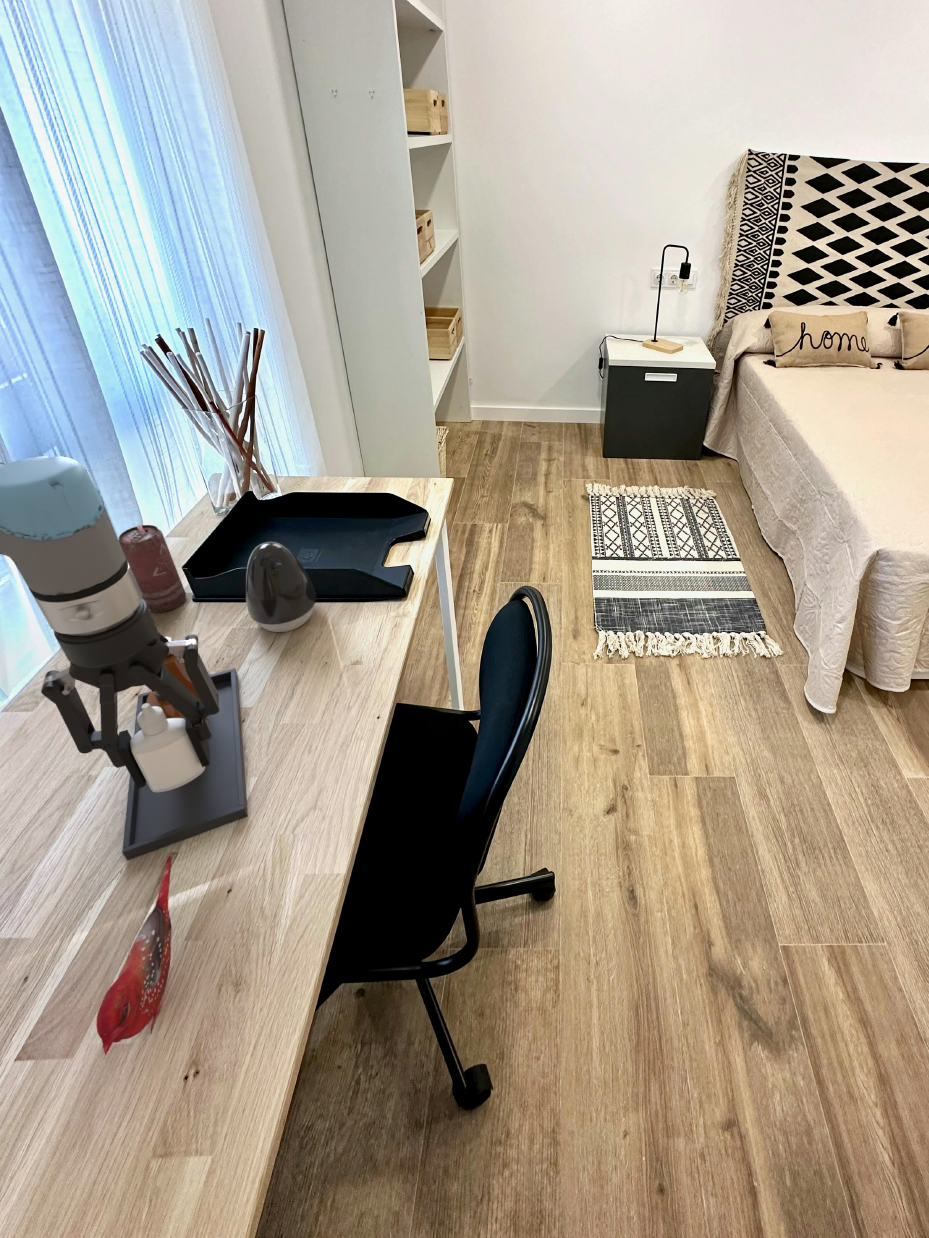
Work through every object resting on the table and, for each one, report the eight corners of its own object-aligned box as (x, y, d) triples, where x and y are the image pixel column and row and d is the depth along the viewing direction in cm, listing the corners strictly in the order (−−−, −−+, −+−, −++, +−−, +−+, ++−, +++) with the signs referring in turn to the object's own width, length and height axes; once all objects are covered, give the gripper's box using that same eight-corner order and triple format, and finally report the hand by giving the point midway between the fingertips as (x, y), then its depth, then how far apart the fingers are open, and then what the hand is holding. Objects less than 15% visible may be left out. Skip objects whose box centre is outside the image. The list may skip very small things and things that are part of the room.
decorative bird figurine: (120, 1097, 54) (73, 1049, 48) (173, 890, 68) (141, 836, 63) (158, 1086, 54) (116, 1037, 49) (202, 883, 69) (173, 829, 63)
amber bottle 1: (174, 700, 89) (146, 636, 83) (206, 691, 91) (180, 627, 84) (174, 720, 86) (144, 656, 80) (206, 711, 88) (180, 646, 81)
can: (181, 585, 112) (155, 518, 104) (190, 604, 108) (163, 535, 100) (142, 599, 109) (112, 530, 101) (149, 618, 104) (119, 548, 97)
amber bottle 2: (173, 742, 83) (142, 677, 77) (207, 732, 85) (179, 667, 78) (172, 766, 80) (139, 700, 74) (207, 754, 82) (178, 688, 75)
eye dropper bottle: (197, 790, 73) (164, 719, 66) (144, 795, 72) (106, 723, 66) (211, 759, 76) (181, 688, 70) (161, 762, 76) (126, 692, 69)
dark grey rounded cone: (265, 651, 99) (240, 573, 91) (246, 617, 105) (221, 541, 97) (330, 625, 104) (312, 548, 96) (307, 593, 111) (288, 520, 103)
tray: (143, 705, 89) (138, 694, 88) (238, 677, 94) (234, 667, 93) (128, 863, 70) (121, 852, 69) (249, 819, 75) (244, 808, 74)
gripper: (-35, 668, 55) (72, 827, 67) (208, 609, 62) (265, 762, 74) (-14, 617, 60) (82, 772, 73) (207, 568, 68) (260, 716, 80)
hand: (174, 767), depth 73 cm, fingers closed on eye dropper bottle, 6 cm apart
